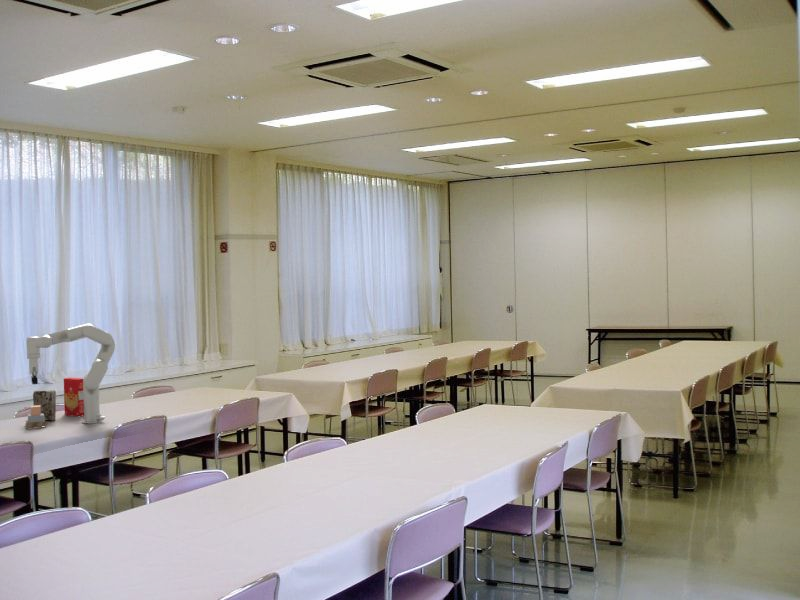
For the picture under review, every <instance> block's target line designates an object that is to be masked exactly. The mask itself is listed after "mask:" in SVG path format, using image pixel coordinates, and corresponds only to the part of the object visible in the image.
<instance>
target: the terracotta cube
mask: <svg viewBox="0 0 800 600" xmlns="http://www.w3.org/2000/svg"><path fill="white" fill-rule="evenodd" d="M30 414H31V416H36V415H41V406H40V405H36V406H33V405H30Z"/></svg>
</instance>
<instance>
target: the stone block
mask: <svg viewBox="0 0 800 600" xmlns="http://www.w3.org/2000/svg"><path fill="white" fill-rule="evenodd" d="M56 395H57V392H56V390H55V389H45V390H44V389H38V390H34V391H33V393H32V400H33V404H32V406H36V405H40V406H41V413H43V414H44V415H45V420H52V421H55V420H56V415H57V413H56V411H57V410H56V407H57V406H56V397H57V396H56Z"/></svg>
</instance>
